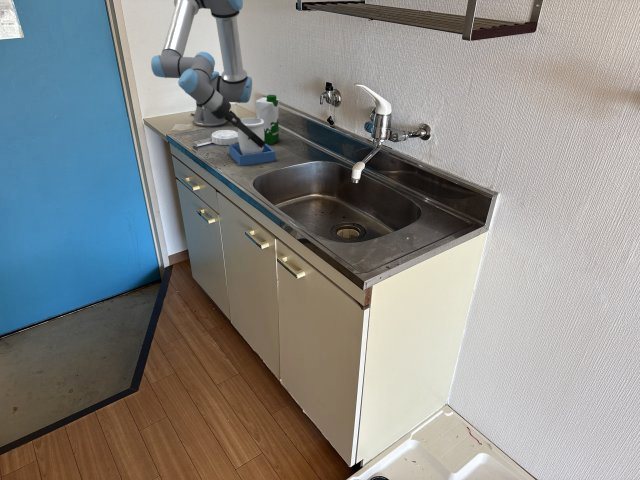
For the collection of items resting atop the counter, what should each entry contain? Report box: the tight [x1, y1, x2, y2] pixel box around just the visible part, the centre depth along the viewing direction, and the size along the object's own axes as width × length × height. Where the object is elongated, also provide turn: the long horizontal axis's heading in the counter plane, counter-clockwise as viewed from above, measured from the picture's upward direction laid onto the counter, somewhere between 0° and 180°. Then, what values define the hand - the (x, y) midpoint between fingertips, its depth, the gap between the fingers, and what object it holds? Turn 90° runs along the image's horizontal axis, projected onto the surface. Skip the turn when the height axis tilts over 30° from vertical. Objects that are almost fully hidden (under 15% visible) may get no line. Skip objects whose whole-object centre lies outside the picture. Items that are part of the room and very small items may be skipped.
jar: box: [237, 117, 265, 155], centre depth 186 cm, size 11×10×15 cm
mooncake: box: [210, 129, 239, 146], centre depth 205 cm, size 12×12×4 cm
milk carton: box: [254, 94, 280, 146], centre depth 203 cm, size 9×9×20 cm
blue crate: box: [228, 143, 276, 167], centre depth 189 cm, size 14×15×4 cm
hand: (258, 141), depth 188 cm, fingers closed on jar, 10 cm apart
